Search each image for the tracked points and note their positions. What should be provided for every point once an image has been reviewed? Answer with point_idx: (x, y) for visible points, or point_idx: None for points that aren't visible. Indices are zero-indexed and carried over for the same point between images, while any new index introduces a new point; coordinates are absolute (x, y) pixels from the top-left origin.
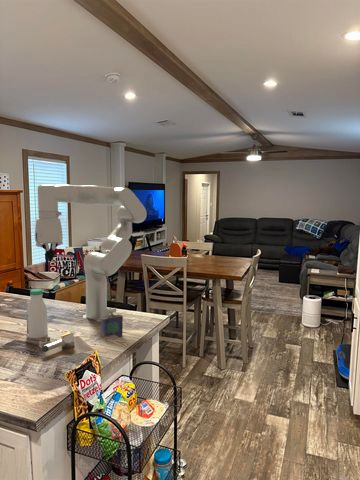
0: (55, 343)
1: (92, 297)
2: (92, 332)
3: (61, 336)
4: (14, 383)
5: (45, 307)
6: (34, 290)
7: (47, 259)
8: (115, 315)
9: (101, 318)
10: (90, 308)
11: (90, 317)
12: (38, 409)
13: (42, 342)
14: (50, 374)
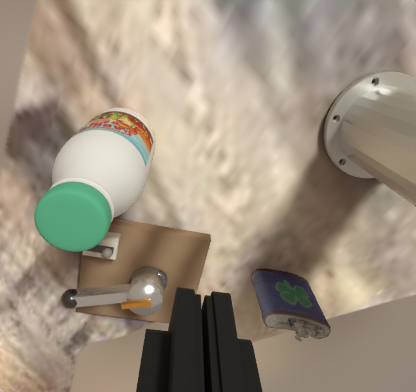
0: (101, 304)
1: (391, 182)
2: (272, 219)
3: (121, 307)
4: None
5: (127, 209)
6: (56, 227)
7: (174, 300)
8: (311, 332)
9: (268, 318)
10: (361, 154)
11: (342, 143)
12: None
13: (87, 251)
14: (63, 335)
